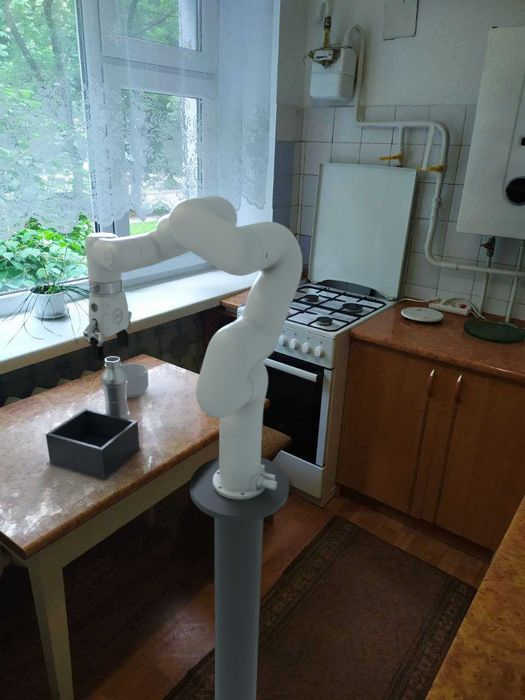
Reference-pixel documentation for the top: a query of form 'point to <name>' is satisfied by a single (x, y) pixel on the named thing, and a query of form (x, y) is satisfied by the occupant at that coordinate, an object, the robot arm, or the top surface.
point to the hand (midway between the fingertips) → (111, 352)
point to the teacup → (135, 379)
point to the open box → (93, 443)
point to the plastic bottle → (115, 388)
